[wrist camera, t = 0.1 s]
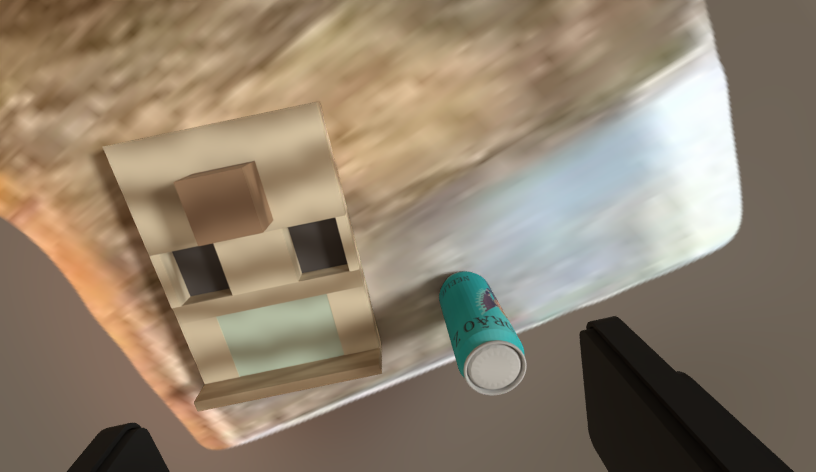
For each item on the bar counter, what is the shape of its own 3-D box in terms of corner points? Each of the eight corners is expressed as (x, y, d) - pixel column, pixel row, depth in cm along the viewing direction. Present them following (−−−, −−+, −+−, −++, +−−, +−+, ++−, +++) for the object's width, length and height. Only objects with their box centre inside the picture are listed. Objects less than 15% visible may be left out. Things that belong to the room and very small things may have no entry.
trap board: (118, 143, 42) (81, 150, 36) (319, 101, 42) (311, 102, 36) (216, 378, 51) (197, 411, 46) (381, 344, 51) (381, 373, 45)
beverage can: (497, 288, 49) (544, 367, 35) (460, 320, 50) (492, 410, 36) (463, 256, 48) (498, 325, 34) (426, 290, 49) (445, 371, 35)
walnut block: (192, 173, 40) (173, 182, 37) (254, 160, 40) (241, 167, 37) (214, 232, 42) (198, 246, 39) (273, 220, 42) (263, 232, 39)
